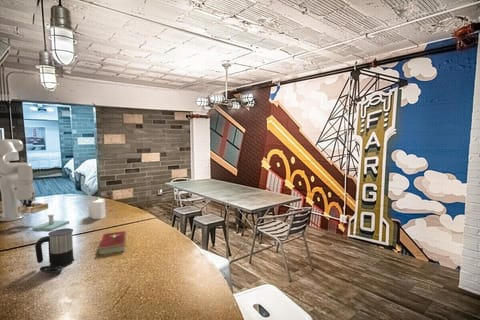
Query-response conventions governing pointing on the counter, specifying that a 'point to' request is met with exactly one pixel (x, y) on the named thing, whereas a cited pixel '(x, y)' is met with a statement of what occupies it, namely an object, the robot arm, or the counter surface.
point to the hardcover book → (112, 242)
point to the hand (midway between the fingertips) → (27, 209)
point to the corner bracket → (97, 209)
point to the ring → (33, 208)
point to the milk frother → (56, 250)
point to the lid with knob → (51, 224)
